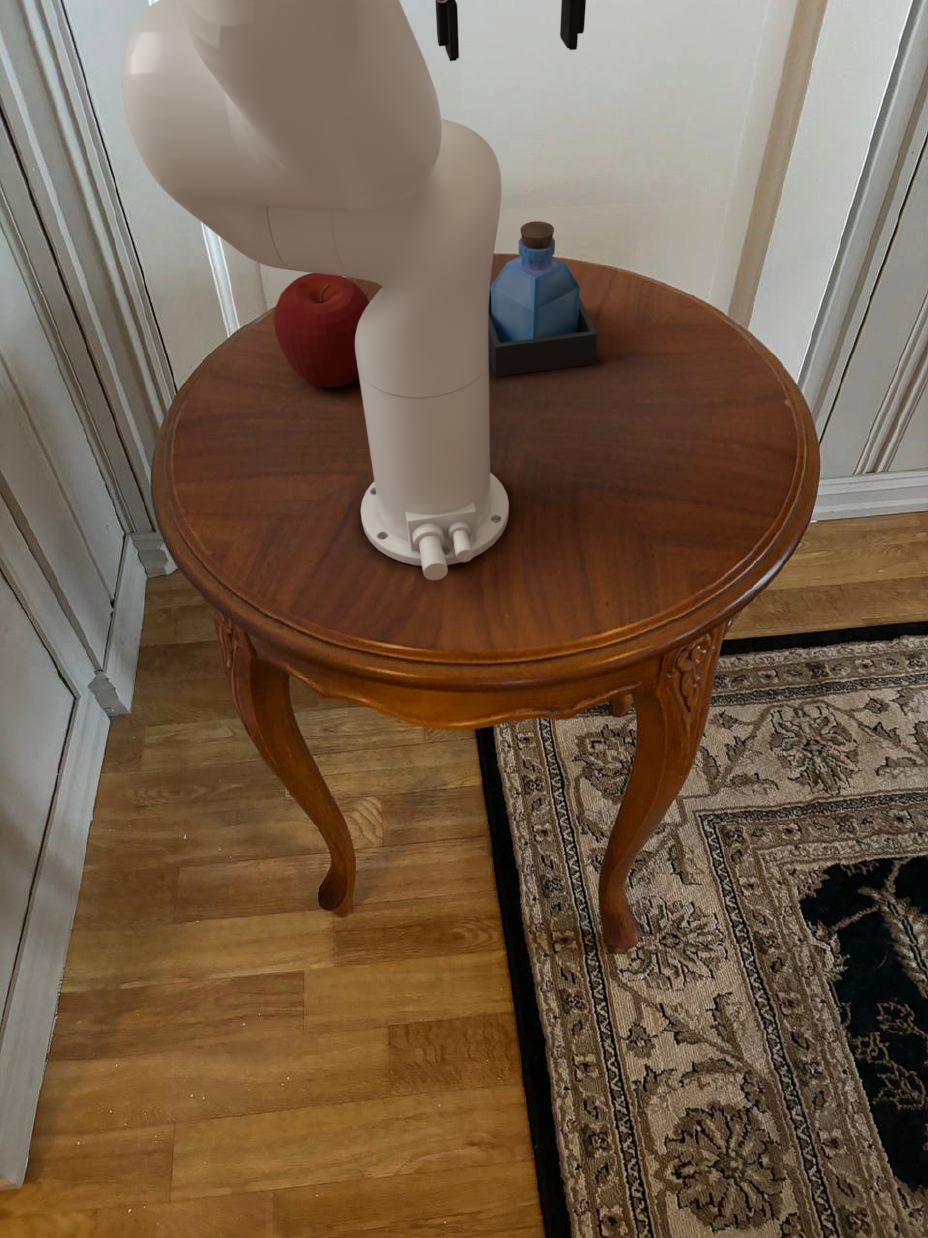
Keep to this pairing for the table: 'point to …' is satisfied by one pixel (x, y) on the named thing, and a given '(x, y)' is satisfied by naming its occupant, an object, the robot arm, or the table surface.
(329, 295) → the apple
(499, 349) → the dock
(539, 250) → the perfume bottle
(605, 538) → the table surface
